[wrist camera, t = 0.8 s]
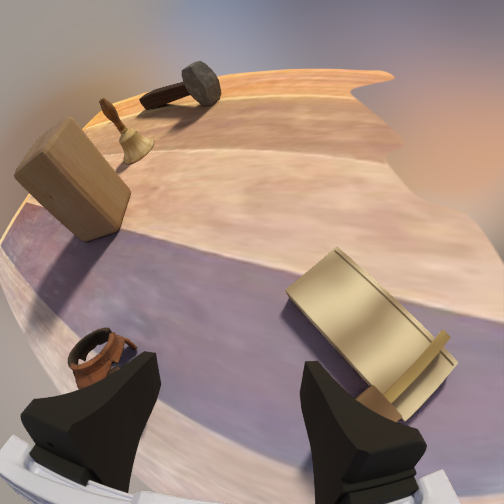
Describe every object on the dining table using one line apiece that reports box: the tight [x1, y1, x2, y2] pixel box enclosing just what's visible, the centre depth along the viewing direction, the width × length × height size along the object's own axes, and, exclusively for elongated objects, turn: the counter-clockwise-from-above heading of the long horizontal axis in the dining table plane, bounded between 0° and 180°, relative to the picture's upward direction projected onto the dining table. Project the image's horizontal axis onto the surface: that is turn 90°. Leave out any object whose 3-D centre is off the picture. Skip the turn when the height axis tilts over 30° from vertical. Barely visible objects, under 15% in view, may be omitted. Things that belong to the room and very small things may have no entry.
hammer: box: [139, 61, 221, 110], centre depth 62 cm, size 5×11×30 cm
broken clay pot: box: [68, 328, 137, 389], centre depth 27 cm, size 12×10×8 cm
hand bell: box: [99, 98, 154, 164], centre depth 50 cm, size 8×8×16 cm
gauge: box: [356, 330, 451, 422], centre depth 18 cm, size 4×12×6 cm, turn 125°
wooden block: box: [14, 116, 131, 242], centre depth 38 cm, size 10×10×20 cm
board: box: [285, 247, 458, 421], centre depth 23 cm, size 17×7×2 cm, turn 35°
